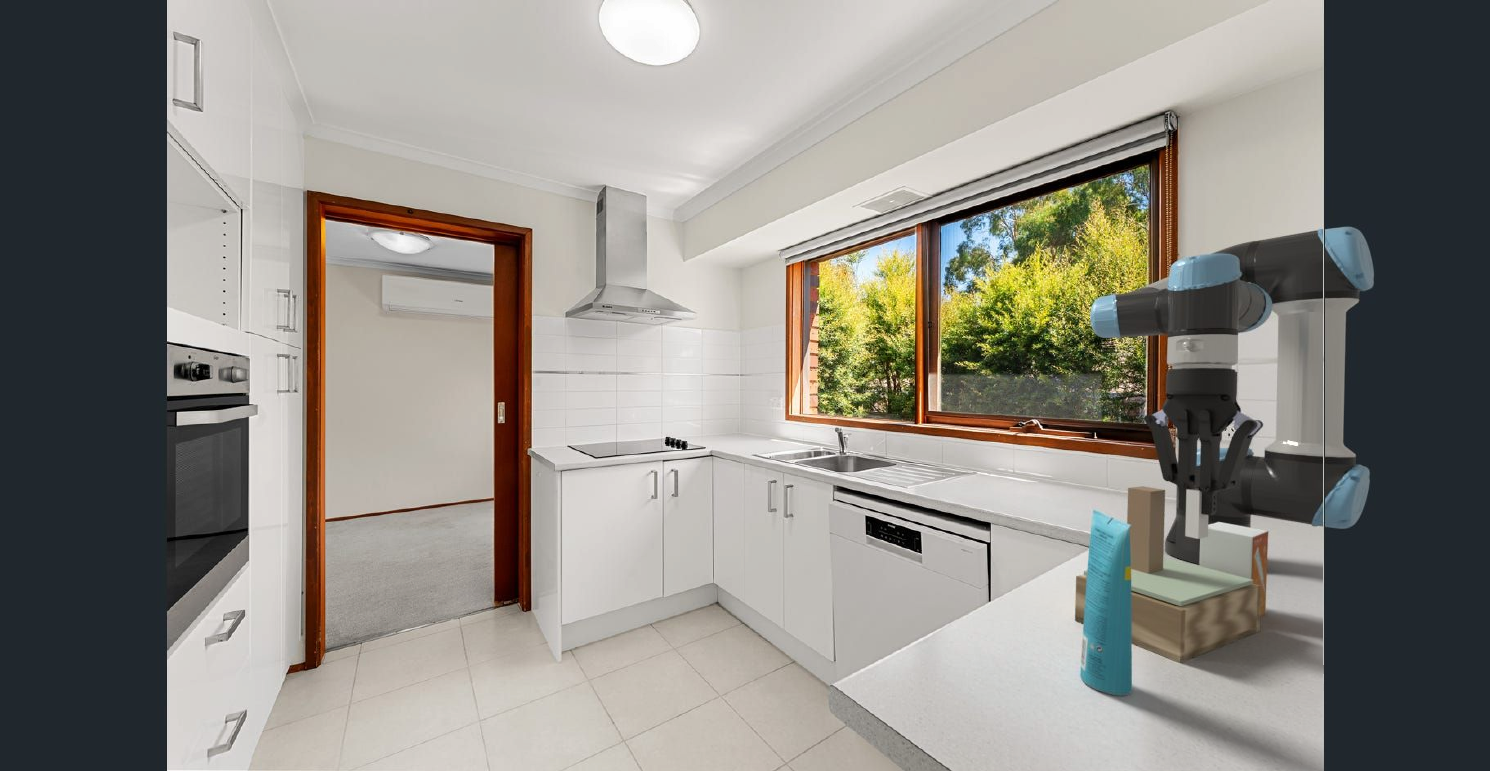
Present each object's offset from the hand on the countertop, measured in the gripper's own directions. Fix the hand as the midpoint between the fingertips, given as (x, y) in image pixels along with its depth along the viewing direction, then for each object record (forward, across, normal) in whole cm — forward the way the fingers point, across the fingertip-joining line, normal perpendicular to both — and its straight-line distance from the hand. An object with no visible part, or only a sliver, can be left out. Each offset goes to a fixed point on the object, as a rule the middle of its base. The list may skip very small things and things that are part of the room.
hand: (1196, 536), depth 74 cm
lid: (+7, -3, 0) cm, 8 cm away
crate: (+14, -3, 0) cm, 14 cm away
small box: (+14, -2, +16) cm, 21 cm away
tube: (+14, +2, -25) cm, 29 cm away
